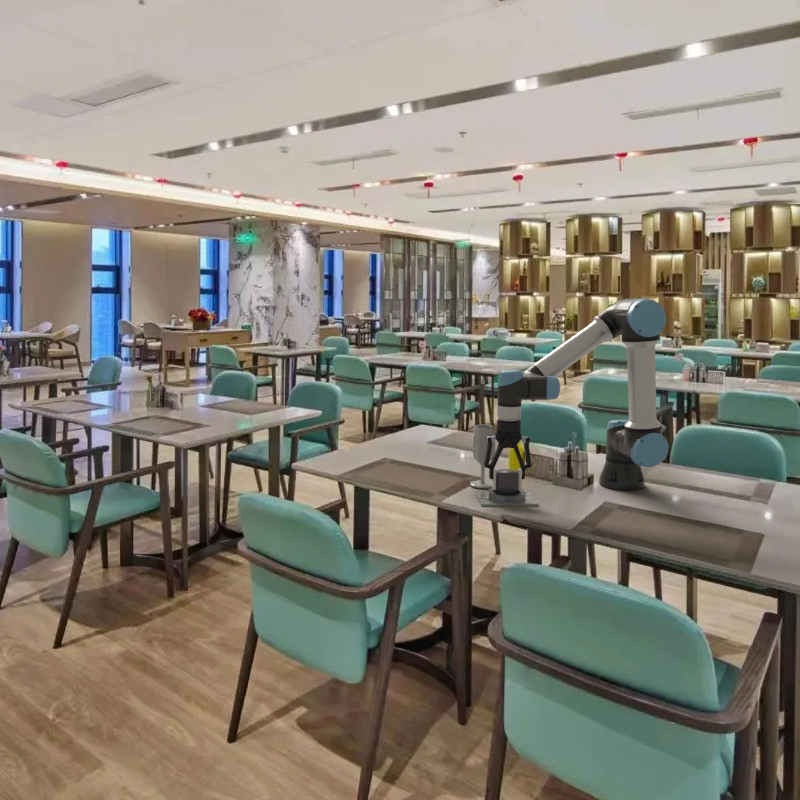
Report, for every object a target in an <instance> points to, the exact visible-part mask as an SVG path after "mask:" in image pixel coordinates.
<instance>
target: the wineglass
mask: <svg viewBox="0 0 800 800" xmlns="http://www.w3.org/2000/svg"><path fill="white" fill-rule="evenodd" d="M487 436H490V437H491V436H495V431H494V428H493V425H490V424H475V427H474V429H473V434H472V439H471V450H472V455H473V459H474V460H475V461H476V462H477V463H478V464H480V480H472V481H469V483H470V487H473V488H474V489H475V488H476V489H484V490H485V489H487V490H488V489H490V488H492V481H490V480H485V476H486V474H485V472H486V468H485V466H484V459H485V454H486V448H487ZM495 452H496V439H495V440H494V443H492V450H491V456H490V461H489V463H491V461H492V458H493V456H494V454H495Z"/></svg>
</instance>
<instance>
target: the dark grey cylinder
mask: <svg viewBox="0 0 800 800" xmlns="http://www.w3.org/2000/svg"><path fill="white" fill-rule="evenodd" d="M496 493H497V494H503V495H515V494H518V470H515V469H510V468H501V469H500V468H499V469H498V470H496Z"/></svg>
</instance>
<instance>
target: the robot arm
mask: <svg viewBox="0 0 800 800" xmlns="http://www.w3.org/2000/svg"><path fill="white" fill-rule="evenodd" d="M666 323H667V316H666V311H665V309H664V307H663V306H662V305H661V304H660V303H659V302H658V301H656V300H654V299H650V298H645V297H641V298H636V297H635V298H633V297H632V298H631V297H628V298H627V297H626V298H623V299H620V300H617V301H616V302H614V303H612V304H611V305H609V306H608V307H607V308H605V309H604V310H603V311H601V312H600V313H598V314H597V315H595V316H594V317H593V320H592V322H591V323H590V324H588V325H587V326H586V327H584V328H583V329H582V330H580V331H579V332H577V333H576V334H574V335H573V336H571V337H570V338H569V339H567V340H566V341H565V342H564V343H562V344H560V345H559V346H558V347H556V348H555V349H553V350H552V351H550V353H548V354H547V355H545V356H544V357H542V358H541V359H540V360H538V361H537V362H535V363H534V364H533V365H531V366H529V367H528V368H527V369H524V370H520V369H501V370H500V371H499V373H498V379H497V409H496V410H497V411H496V413H497V414H496V417H497V420H496V433H494V436H491V437H490V436H487V448H486V454H485V459H484V466H485V469H486V468H487V469H488V471H489V472H488V478H489V479H490V480H491V482H492V489H493V490H496V471H497V469H496V465H497V464H498V461H499V458H500V456H501V454H502V452H503V450H504V449H507V448H509V449H513V451H514V453H515V456H516V459H517V461H518V464H519V467H520V468H519V467H518V468H517V472H518V489H519V490H521V489H522V485H523V484H522V481H523V480H525V478H526V470H527V469H531V467H532V461H531V452H530V442H531V438H530V437H529V436H527V435H526V436H524V435H522V434H521V433H522V432H521V429H522V428H521V427H522V425H521V423H522V421H521V419H522V401H532V400H533V401H537V400H539V401H544V400H545V401H551V400H556V399H558V398H559V395H560V394H561V384H560V383H561V382H560V380H559V378H558V377H557V376H559V375H560V374H561V373H563V372H564V371H565V370H567V369H569V367H570V366H573V364H575V363H577V362H578V361H579V360H581V359H582V358H584V357H585V356H587V355H588V354H589V353H591V352H592V351H593V350H594V349H596V348H598V347H599V346H601V345H602V344H603V343H604V342H606V341H607V342H608V341H609V342H611V341H613V340H614V339H616V338H617V337H620V336H621V343H622V344H623V345H625V347H626V363H627V364H626V365H627V394H628V395H627V396H628V401H627V402H628V419H611V420H609V421H608V422H607V428H606V440H605V441H606V447H605V463H604V465H603V467H602V470H601V471H600V475H599V478H598V481H599V483H598V484H599V485H600V486H602V487H605V488H607V489H612V490H617V491H637V490H642V489H644V488H645V476H644V473H643V470H642V467H644V468H653V467H657V466H658V465H660V464H662V462H663V461H664V460H666V457H667V455H668V452H669V441H668V440H667V438H666V437H665V436H664V435H663V430H662V429H663V426H662V423H661V422H660V421H659V420H658V419H657V388H656V387H657V381H656V379H657V378H656V377H657V376H656V345H657V344H658V343H659V342H660V341H661V333H662V330H663V329H664V328H665V327H666ZM494 440H495V441H496V442H497V443H498V444H497V446H496V448H495V453H494V456H493V458H492V460H491V461H490V456H491V450H492V443H494ZM521 441H522V444H523V450H524V457H525V459H524V460H525V463H524V460H523V456H522V454H521V452H520V448H519V445H518V444H519V443H520V442H521ZM489 461H490V462H489Z"/></svg>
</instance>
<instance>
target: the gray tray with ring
mask: <svg viewBox="0 0 800 800" xmlns="http://www.w3.org/2000/svg"><path fill="white" fill-rule="evenodd" d="M475 496H476V498H477V500H478V502H479V504H480V506H481V507H539V502H538V500H537V499H536V498H535V497H534V496H533V495H532V493H531V492H530V491H528V492H526V491H525V490H524V489H522V488H521V490H519V489H518V494H515V495H503V494H497V493H496V490H493V489H492V488H487V491H486V492H485V491H483V492H482V491H481V492H478V491H477V492H475Z"/></svg>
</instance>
